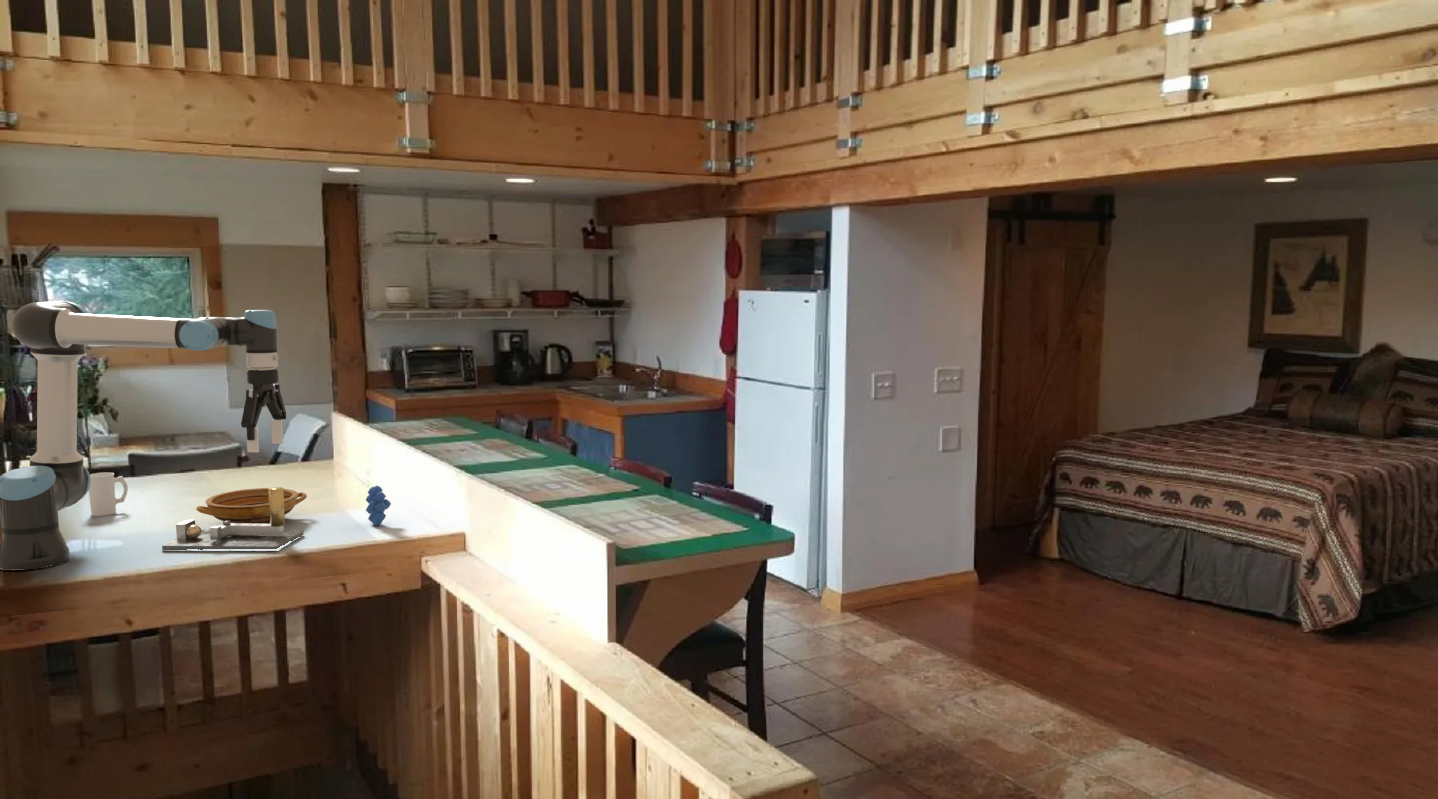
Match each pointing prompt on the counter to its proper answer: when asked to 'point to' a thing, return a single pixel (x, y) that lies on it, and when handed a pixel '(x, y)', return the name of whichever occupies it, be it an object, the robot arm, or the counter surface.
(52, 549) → the robot arm
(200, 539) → the base
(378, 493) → the grapes
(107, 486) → the mug
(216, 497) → the ceramic bowl
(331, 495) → the counter surface
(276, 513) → the lever
